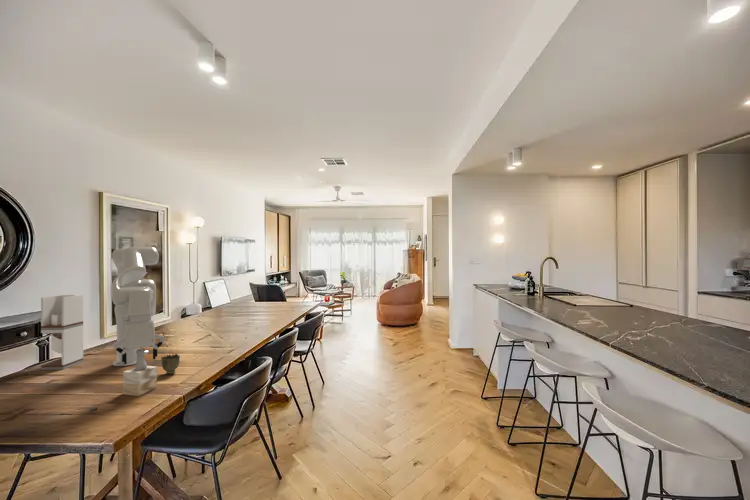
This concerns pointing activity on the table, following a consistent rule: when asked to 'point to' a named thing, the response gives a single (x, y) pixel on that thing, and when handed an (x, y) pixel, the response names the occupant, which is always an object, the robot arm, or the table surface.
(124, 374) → the tower top
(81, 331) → the display case
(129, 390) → the tower base
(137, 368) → the rook chess piece
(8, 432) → the table surface
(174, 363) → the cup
